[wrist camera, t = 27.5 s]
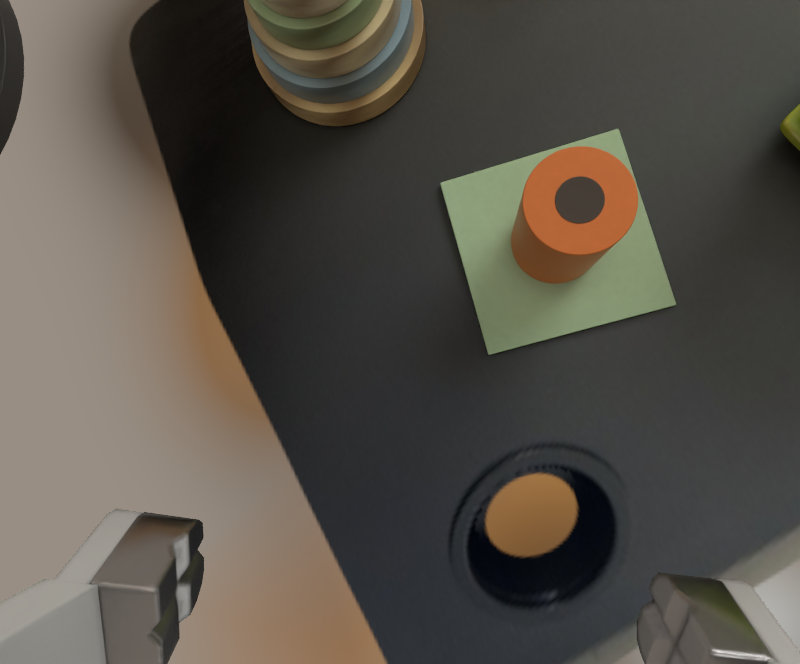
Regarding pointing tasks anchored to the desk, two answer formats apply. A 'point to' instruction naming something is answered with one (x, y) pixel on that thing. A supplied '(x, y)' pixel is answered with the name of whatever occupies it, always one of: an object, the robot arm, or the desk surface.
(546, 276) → the orange cylinder piece
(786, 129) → the flower pot
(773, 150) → the desk surface
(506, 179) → the green mat
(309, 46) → the stacking tower
